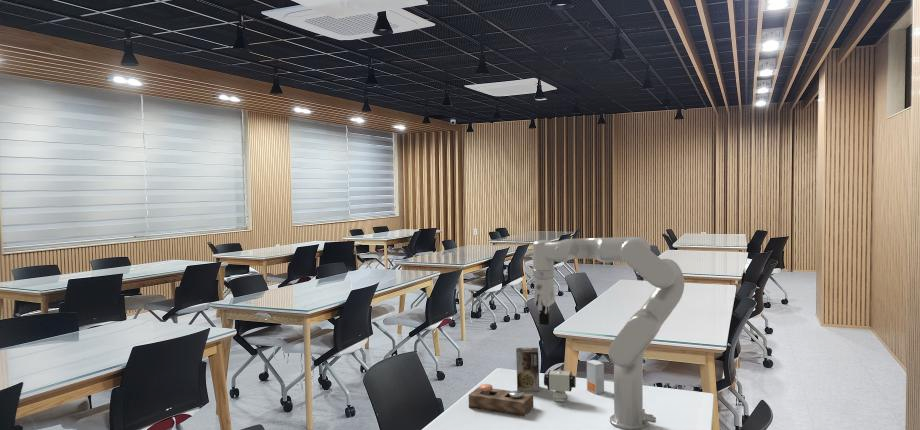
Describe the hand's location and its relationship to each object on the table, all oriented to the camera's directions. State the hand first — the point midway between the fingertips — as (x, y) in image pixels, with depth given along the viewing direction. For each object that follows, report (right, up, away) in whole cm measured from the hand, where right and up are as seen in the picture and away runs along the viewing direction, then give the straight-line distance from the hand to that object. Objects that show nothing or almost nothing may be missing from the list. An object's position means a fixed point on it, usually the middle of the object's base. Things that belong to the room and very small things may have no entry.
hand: (544, 324), depth 221 cm
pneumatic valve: (+8, -32, +11) cm, 35 cm away
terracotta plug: (-21, -30, +8) cm, 37 cm away
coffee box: (-3, -31, +26) cm, 40 cm away
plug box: (-15, -32, +5) cm, 36 cm away
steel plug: (-10, -31, +2) cm, 33 cm away
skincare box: (+23, -31, +20) cm, 44 cm away
